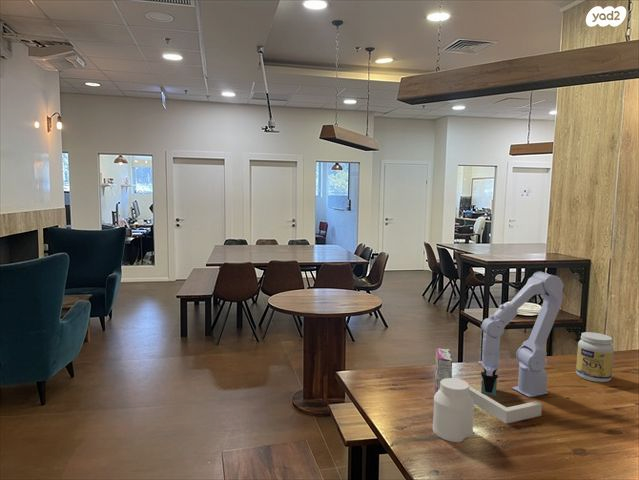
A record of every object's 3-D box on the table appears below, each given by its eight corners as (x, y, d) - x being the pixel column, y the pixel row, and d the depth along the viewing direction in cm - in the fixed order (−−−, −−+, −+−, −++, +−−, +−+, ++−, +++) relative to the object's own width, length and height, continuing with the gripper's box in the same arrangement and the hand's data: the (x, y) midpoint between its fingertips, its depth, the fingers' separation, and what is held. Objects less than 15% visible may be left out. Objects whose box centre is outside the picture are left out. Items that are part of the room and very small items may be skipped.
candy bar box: (433, 391, 157) (435, 347, 156) (448, 393, 156) (449, 348, 155) (435, 405, 146) (437, 358, 145) (451, 407, 145) (453, 359, 144)
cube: (481, 388, 161) (482, 375, 161) (496, 390, 159) (496, 377, 159) (481, 393, 157) (481, 380, 156) (496, 396, 155) (496, 382, 154)
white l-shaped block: (495, 390, 159) (495, 379, 159) (541, 415, 141) (541, 403, 140) (462, 396, 153) (462, 385, 153) (505, 423, 135) (506, 411, 135)
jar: (454, 445, 122) (456, 394, 121) (427, 431, 130) (429, 382, 129) (477, 432, 129) (480, 384, 128) (450, 419, 137) (452, 373, 136)
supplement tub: (575, 378, 171) (578, 337, 170) (576, 368, 181) (578, 329, 180) (612, 386, 165) (615, 342, 163) (611, 375, 175) (614, 334, 174)
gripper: (479, 344, 165) (478, 378, 166) (477, 356, 151) (476, 393, 153) (500, 346, 162) (498, 381, 163) (499, 359, 149) (497, 397, 150)
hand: (488, 387), depth 158 cm, fingers open, 7 cm apart
